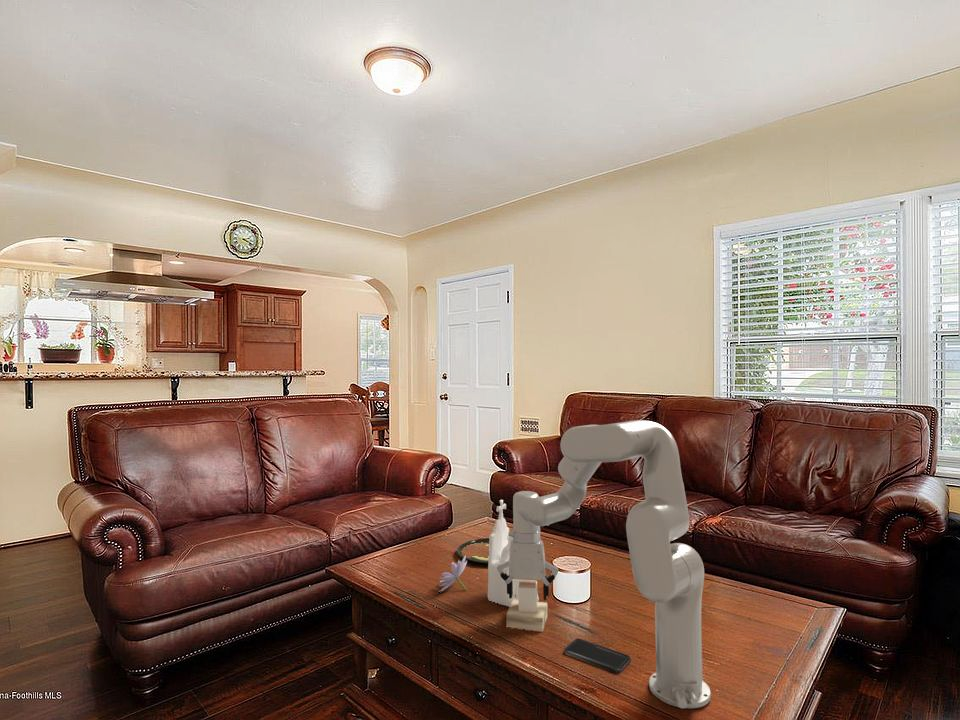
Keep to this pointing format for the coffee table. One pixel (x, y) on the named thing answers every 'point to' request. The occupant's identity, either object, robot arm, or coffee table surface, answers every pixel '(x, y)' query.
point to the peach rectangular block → (527, 595)
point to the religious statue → (500, 562)
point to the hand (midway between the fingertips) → (527, 597)
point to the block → (527, 617)
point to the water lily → (457, 571)
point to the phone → (598, 655)
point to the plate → (474, 558)
